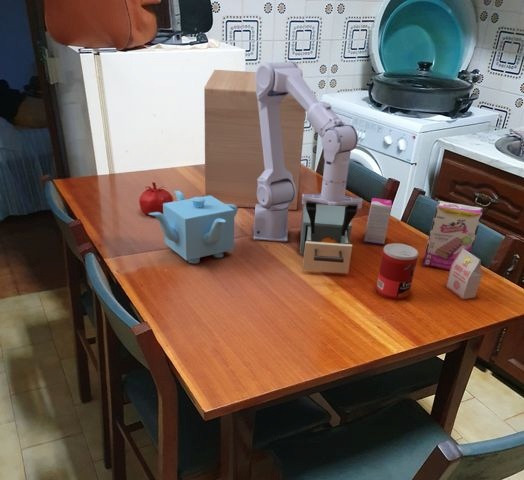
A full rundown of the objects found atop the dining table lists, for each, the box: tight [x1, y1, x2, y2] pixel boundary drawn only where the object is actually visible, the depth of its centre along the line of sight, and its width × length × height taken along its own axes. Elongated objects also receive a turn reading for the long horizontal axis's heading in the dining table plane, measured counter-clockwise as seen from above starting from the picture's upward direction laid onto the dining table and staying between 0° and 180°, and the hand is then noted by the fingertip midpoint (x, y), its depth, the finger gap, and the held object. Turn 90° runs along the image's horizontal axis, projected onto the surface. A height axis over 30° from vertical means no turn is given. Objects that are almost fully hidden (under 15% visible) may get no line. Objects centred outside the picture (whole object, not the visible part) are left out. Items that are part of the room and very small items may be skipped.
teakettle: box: [148, 190, 239, 264], centre depth 140 cm, size 19×19×15 cm
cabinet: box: [299, 204, 353, 256], centre depth 150 cm, size 16×13×9 cm
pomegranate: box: [138, 181, 174, 216], centre depth 163 cm, size 10×10×9 cm
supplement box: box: [363, 197, 393, 246], centre depth 154 cm, size 6×6×12 cm
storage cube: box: [203, 69, 307, 211], centre depth 178 cm, size 34×29×34 cm
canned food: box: [376, 242, 419, 300], centre depth 128 cm, size 8×8×11 cm
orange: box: [321, 237, 337, 243], centre depth 140 cm, size 5×5×5 cm
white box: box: [445, 248, 483, 300], centre depth 131 cm, size 4×7×10 cm, turn 20°
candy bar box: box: [422, 200, 484, 271], centre depth 140 cm, size 11×5×16 cm, turn 71°
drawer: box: [302, 225, 353, 274], centre depth 138 cm, size 20×11×7 cm, turn 176°
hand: (327, 233), depth 138 cm, fingers open, 7 cm apart
